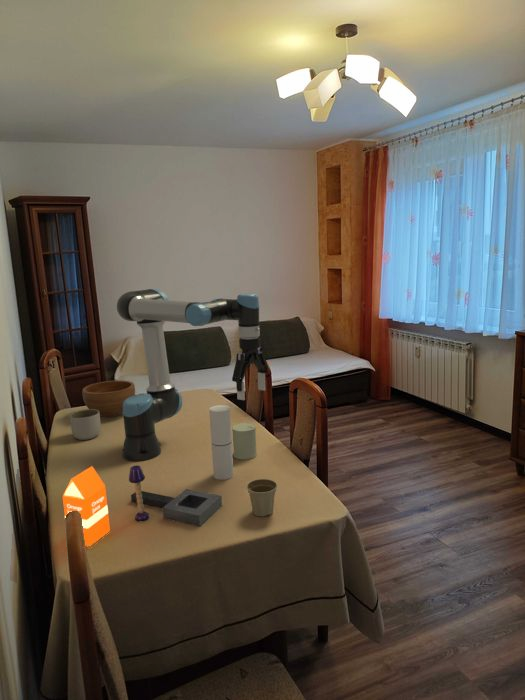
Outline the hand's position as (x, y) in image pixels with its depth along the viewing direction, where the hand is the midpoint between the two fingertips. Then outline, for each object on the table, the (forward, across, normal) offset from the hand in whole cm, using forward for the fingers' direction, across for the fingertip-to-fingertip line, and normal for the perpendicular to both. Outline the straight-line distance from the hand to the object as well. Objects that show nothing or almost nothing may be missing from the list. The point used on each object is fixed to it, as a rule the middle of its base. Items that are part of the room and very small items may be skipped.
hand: (251, 394), depth 184 cm
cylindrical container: (+27, -14, +4) cm, 31 cm away
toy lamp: (+27, -50, +9) cm, 57 cm away
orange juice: (+27, -64, +14) cm, 71 cm away
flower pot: (+27, -29, -22) cm, 45 cm away
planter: (+28, -11, +82) cm, 87 cm away
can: (+27, +5, +8) cm, 28 cm away
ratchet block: (+27, -40, +5) cm, 48 cm away
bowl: (+28, +15, +96) cm, 101 cm away
